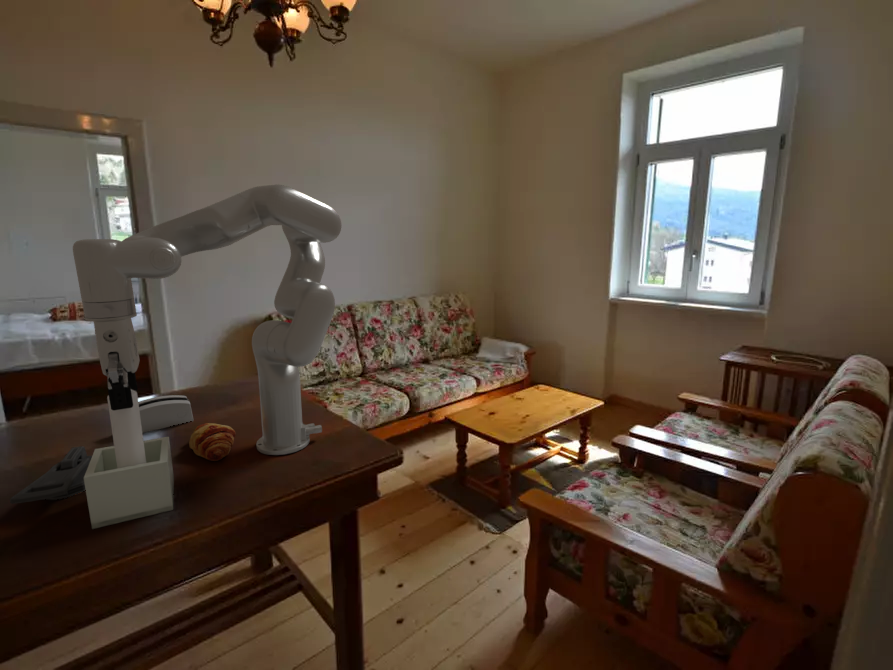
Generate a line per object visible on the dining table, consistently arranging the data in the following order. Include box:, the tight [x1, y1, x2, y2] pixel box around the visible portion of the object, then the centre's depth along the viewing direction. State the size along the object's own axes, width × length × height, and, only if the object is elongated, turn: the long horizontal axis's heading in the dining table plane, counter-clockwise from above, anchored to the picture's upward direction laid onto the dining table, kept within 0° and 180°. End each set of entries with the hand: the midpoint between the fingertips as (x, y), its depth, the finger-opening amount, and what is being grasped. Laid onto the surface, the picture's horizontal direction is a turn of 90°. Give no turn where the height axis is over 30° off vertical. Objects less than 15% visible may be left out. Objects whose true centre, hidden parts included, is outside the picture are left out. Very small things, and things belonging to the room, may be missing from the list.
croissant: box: [188, 422, 237, 462], centre depth 112 cm, size 21×10×8 cm, turn 35°
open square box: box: [84, 436, 175, 530], centre depth 88 cm, size 12×12×10 cm
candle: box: [106, 389, 146, 468], centre depth 85 cm, size 7×7×25 cm
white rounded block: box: [138, 394, 194, 434], centre depth 122 cm, size 17×5×10 cm, turn 132°
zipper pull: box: [9, 445, 93, 505], centre depth 91 cm, size 9×7×25 cm
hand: (125, 399), depth 85 cm, fingers open, 9 cm apart
